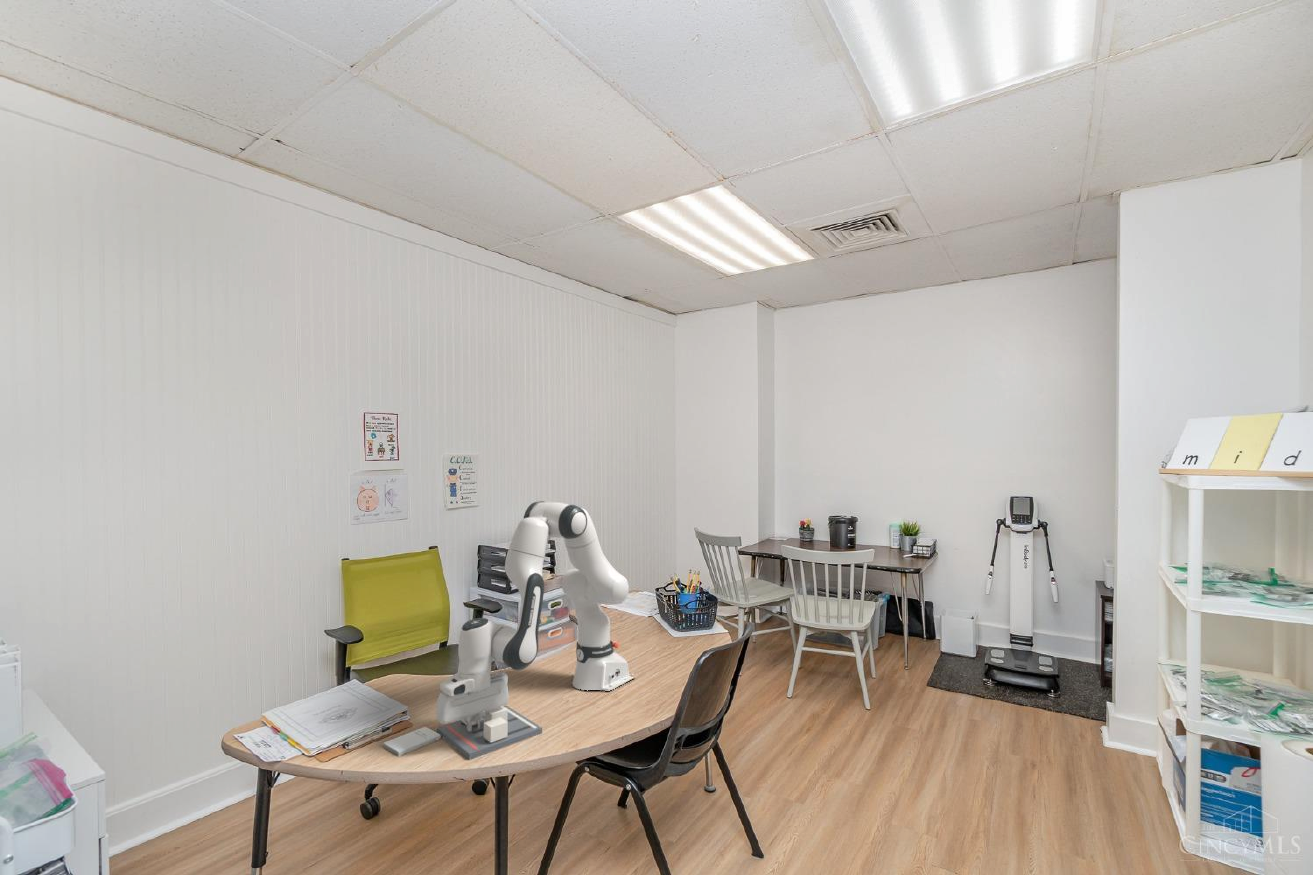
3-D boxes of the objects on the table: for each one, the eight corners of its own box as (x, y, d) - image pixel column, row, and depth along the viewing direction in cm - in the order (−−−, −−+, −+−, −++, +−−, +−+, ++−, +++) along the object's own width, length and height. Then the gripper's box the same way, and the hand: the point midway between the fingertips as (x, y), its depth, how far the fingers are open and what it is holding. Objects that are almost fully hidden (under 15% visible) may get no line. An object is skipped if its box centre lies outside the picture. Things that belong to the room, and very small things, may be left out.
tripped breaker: (500, 718, 174) (500, 704, 174) (507, 723, 171) (507, 709, 171) (484, 724, 170) (484, 709, 170) (491, 728, 167) (491, 714, 167)
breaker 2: (500, 731, 166) (500, 717, 166) (507, 736, 163) (507, 721, 163) (483, 737, 162) (483, 722, 163) (490, 742, 160) (491, 727, 160)
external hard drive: (382, 748, 161) (424, 731, 170) (398, 758, 156) (440, 740, 166) (382, 742, 161) (424, 725, 171) (398, 751, 156) (441, 734, 166)
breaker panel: (506, 710, 184) (506, 705, 184) (542, 732, 170) (542, 727, 170) (436, 732, 169) (436, 726, 169) (469, 759, 154) (469, 753, 154)
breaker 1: (476, 714, 176) (476, 701, 176) (482, 719, 173) (483, 705, 173) (460, 720, 173) (460, 706, 173) (466, 724, 170) (466, 710, 170)
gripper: (502, 667, 176) (501, 714, 175) (434, 685, 161) (433, 736, 161) (513, 673, 171) (512, 721, 171) (444, 692, 157) (443, 745, 157)
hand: (473, 729), depth 166 cm, fingers closed
